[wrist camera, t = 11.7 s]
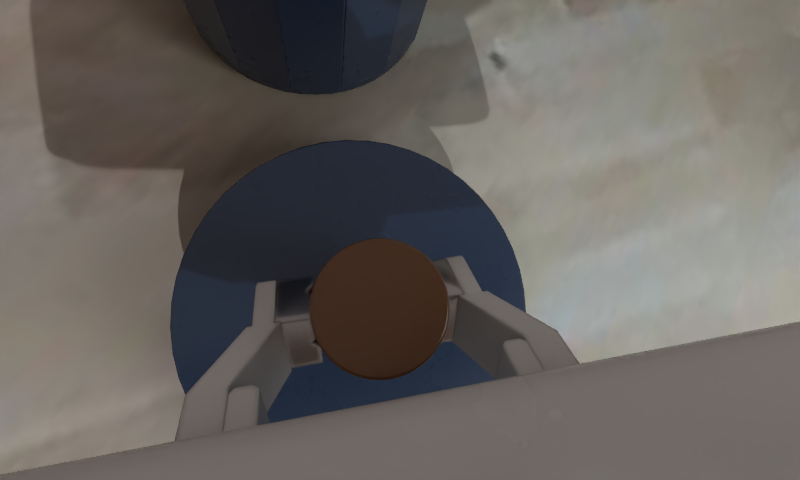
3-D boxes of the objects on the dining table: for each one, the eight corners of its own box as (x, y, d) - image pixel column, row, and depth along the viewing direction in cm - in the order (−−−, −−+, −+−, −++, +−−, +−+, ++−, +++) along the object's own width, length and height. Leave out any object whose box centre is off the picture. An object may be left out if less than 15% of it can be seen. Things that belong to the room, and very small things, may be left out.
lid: (420, 104, 18) (491, -59, 10) (568, 370, 17) (774, 426, 9) (122, 236, 15) (-112, 157, 7) (279, 560, 14) (210, 881, 6)
